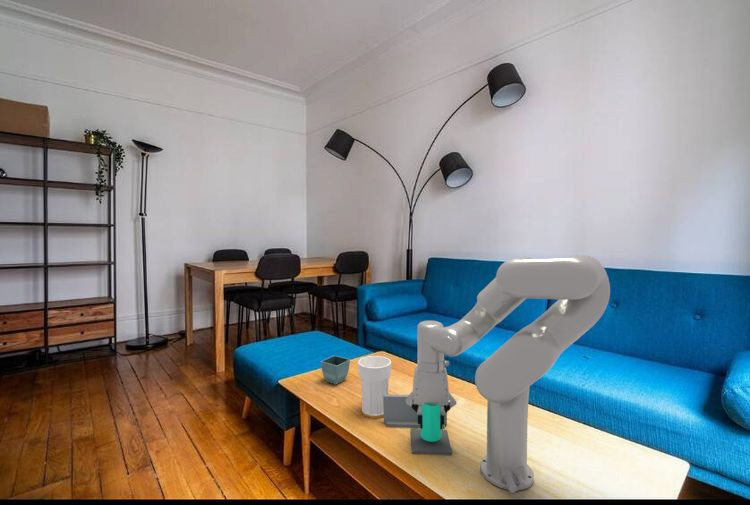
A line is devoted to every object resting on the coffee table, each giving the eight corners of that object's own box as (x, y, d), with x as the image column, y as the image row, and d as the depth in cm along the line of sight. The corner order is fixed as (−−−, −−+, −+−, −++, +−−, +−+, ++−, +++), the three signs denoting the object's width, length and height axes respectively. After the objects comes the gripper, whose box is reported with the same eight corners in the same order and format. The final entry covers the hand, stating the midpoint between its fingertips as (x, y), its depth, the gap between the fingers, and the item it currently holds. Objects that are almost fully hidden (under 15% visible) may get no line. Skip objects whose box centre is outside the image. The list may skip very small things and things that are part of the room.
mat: (452, 455, 96) (452, 452, 96) (411, 453, 97) (411, 450, 97) (446, 432, 107) (446, 429, 107) (410, 431, 108) (410, 428, 108)
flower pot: (350, 380, 146) (350, 359, 145) (337, 388, 138) (337, 365, 138) (334, 375, 150) (334, 355, 150) (320, 383, 143) (320, 361, 142)
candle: (441, 431, 104) (441, 391, 103) (441, 442, 98) (441, 401, 97) (421, 428, 105) (421, 389, 104) (419, 440, 99) (419, 399, 99)
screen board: (447, 428, 109) (447, 400, 108) (383, 426, 110) (383, 398, 110) (445, 420, 114) (445, 393, 113) (384, 418, 115) (383, 391, 115)
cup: (351, 411, 120) (351, 362, 119) (374, 400, 128) (373, 353, 127) (375, 424, 112) (375, 370, 111) (398, 410, 120) (398, 361, 119)
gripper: (458, 360, 104) (458, 420, 105) (400, 359, 105) (401, 418, 106) (463, 370, 96) (462, 434, 97) (401, 369, 97) (401, 433, 98)
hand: (430, 425), depth 102 cm, fingers closed on candle, 4 cm apart
